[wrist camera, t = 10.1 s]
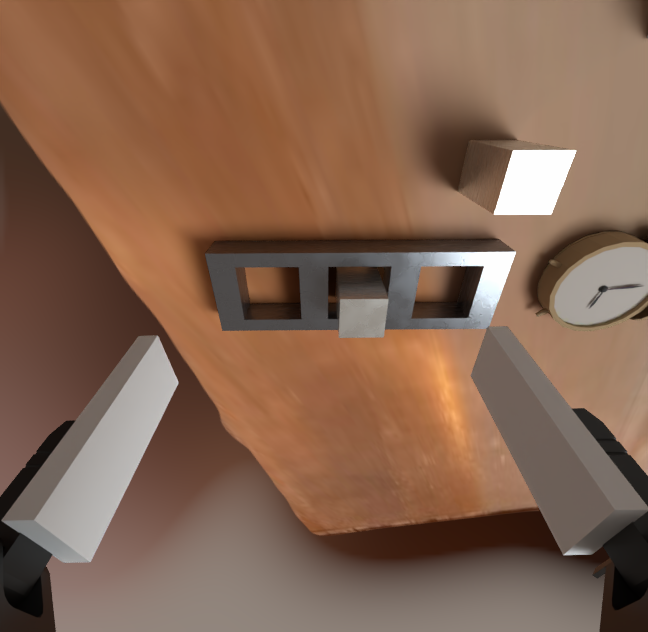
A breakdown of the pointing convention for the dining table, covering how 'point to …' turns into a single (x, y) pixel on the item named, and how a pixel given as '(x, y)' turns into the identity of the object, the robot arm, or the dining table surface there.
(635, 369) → the dining table surface
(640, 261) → the alarm clock
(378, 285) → the grey rectangular block
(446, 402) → the dining table surface
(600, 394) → the dining table surface
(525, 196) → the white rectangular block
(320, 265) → the grey metal flat frame
